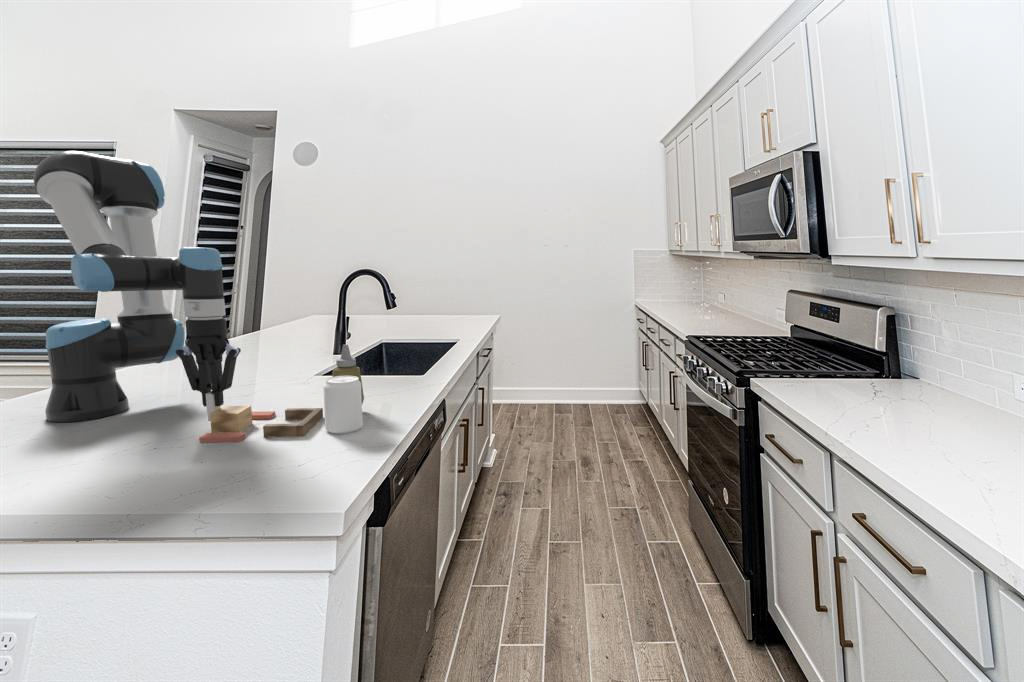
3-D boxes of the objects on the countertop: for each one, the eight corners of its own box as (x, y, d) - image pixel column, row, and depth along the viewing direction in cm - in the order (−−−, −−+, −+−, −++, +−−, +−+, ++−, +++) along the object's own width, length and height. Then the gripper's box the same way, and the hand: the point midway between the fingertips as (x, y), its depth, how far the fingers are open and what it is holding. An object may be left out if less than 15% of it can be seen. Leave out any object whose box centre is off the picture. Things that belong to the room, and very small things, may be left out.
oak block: (211, 432, 100) (209, 413, 100) (226, 423, 106) (224, 405, 106) (239, 432, 101) (237, 413, 100) (252, 423, 107) (251, 405, 106)
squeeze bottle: (324, 415, 113) (320, 346, 111) (347, 407, 121) (344, 341, 118) (349, 420, 110) (346, 348, 108) (371, 411, 118) (369, 344, 115)
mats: (199, 442, 95) (198, 437, 94) (242, 415, 112) (242, 411, 112) (238, 441, 95) (238, 437, 95) (275, 415, 113) (275, 411, 113)
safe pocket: (263, 437, 98) (262, 426, 98) (287, 418, 111) (287, 408, 111) (303, 436, 99) (303, 425, 98) (323, 417, 112) (322, 408, 111)
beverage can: (350, 436, 99) (348, 384, 97) (318, 433, 101) (315, 382, 99) (369, 424, 107) (367, 376, 105) (338, 422, 109) (336, 374, 107)
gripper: (163, 319, 95) (174, 425, 99) (227, 319, 96) (235, 424, 100) (185, 316, 103) (195, 414, 106) (244, 316, 104) (252, 414, 107)
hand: (214, 419), depth 103 cm, fingers closed
